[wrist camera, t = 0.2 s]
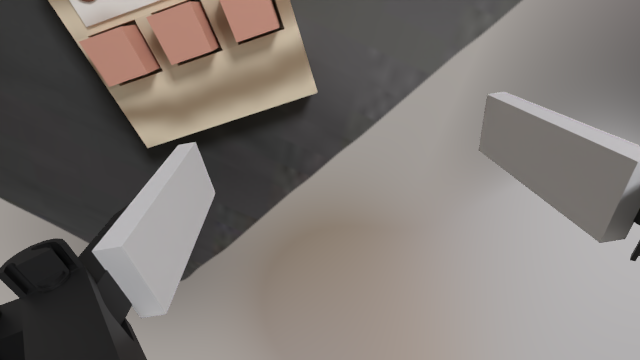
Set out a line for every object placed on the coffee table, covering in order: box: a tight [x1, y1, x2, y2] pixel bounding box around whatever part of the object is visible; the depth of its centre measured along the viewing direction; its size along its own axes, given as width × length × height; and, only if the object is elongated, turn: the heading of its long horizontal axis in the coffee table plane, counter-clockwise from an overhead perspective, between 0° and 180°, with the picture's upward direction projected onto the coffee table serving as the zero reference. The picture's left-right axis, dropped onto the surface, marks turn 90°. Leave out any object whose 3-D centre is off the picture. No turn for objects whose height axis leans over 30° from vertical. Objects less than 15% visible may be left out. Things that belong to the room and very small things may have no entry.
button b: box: [146, 1, 220, 65], centre depth 30 cm, size 4×4×4 cm
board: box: [48, 0, 318, 148], centre depth 32 cm, size 20×22×4 cm
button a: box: [79, 25, 160, 87], centre depth 30 cm, size 4×4×4 cm
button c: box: [219, 0, 280, 42], centre depth 29 cm, size 4×4×4 cm
